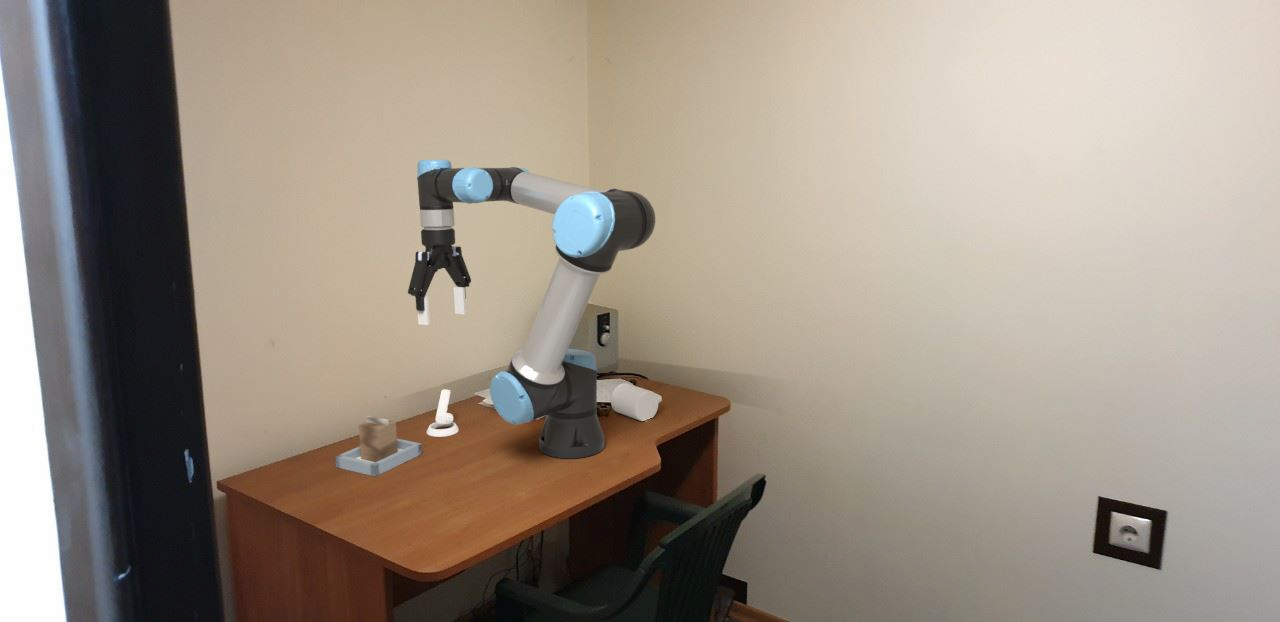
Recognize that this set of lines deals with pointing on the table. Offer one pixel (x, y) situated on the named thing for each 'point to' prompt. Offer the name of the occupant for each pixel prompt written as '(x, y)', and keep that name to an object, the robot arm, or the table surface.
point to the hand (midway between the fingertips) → (443, 319)
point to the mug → (635, 401)
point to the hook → (443, 418)
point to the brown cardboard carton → (377, 439)
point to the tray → (355, 463)
